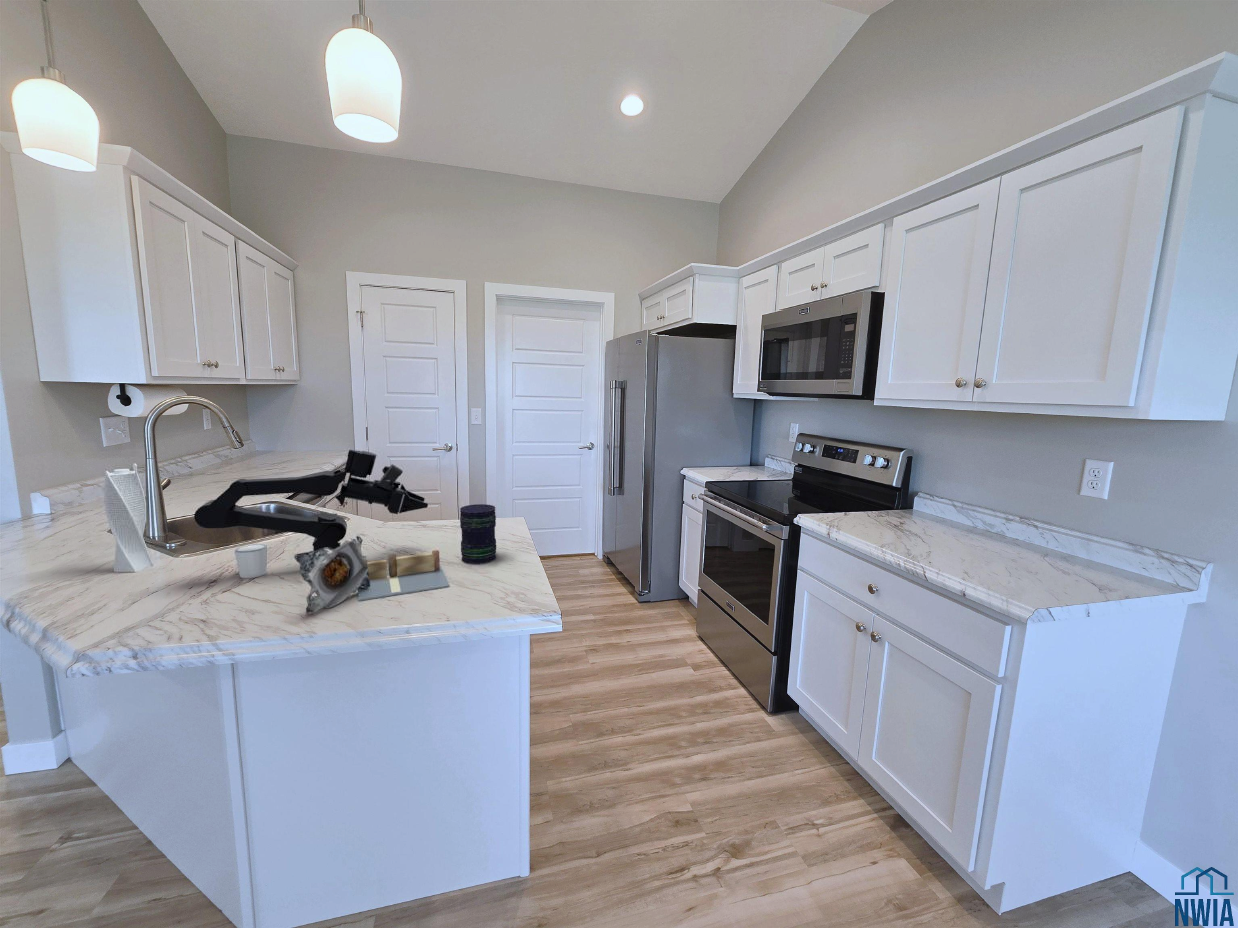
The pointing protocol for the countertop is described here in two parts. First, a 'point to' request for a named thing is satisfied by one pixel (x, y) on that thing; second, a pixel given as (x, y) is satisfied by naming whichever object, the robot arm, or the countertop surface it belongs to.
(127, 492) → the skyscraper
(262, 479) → the robot arm
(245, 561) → the white cylinder
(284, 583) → the countertop surface
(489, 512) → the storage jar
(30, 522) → the countertop surface
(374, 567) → the fixed fence rail
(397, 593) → the board
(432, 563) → the rail
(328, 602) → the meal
